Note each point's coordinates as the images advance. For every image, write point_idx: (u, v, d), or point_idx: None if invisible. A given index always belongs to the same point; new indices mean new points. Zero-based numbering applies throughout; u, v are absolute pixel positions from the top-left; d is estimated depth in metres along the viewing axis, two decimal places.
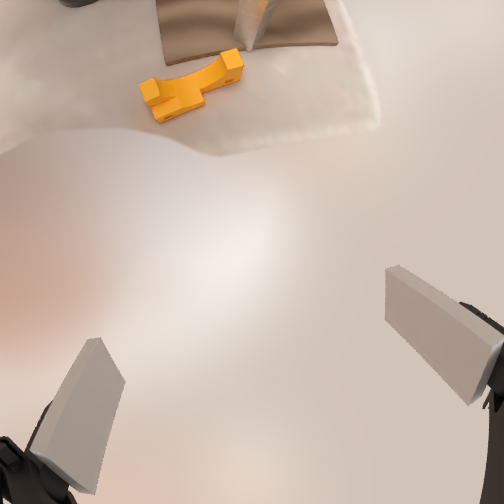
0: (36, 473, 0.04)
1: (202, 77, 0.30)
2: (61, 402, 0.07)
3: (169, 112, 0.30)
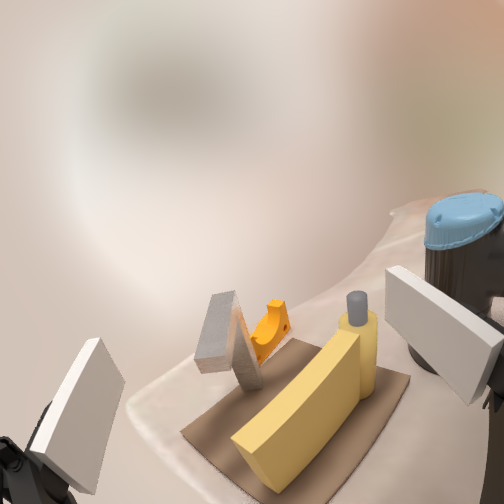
0: (36, 473, 0.04)
1: (261, 341, 0.46)
2: (61, 402, 0.07)
3: (263, 318, 0.52)
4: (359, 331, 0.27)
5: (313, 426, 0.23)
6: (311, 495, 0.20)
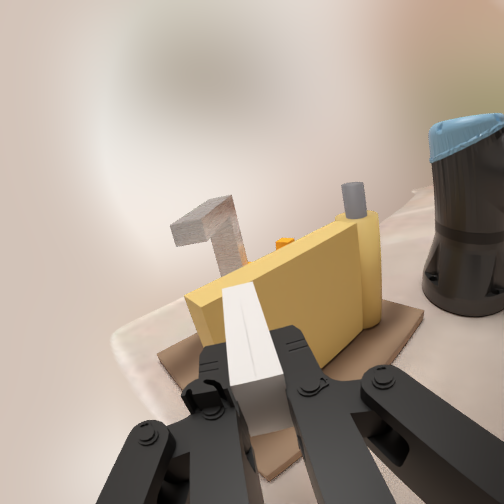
0: (239, 425, 0.06)
1: None
2: (239, 335, 0.09)
3: None
4: (357, 221, 0.24)
5: (297, 323, 0.21)
6: (289, 432, 0.18)
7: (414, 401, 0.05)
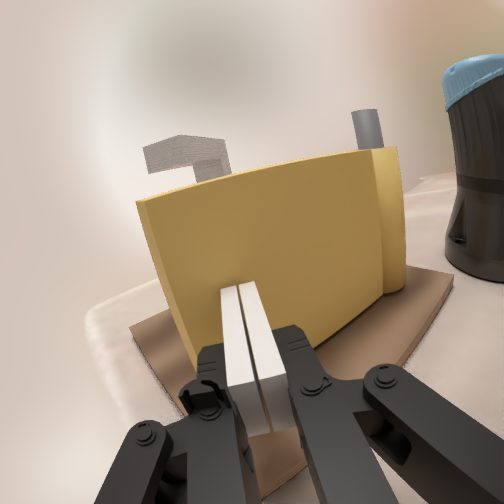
0: (236, 425, 0.06)
1: None
2: (237, 336, 0.09)
3: None
4: (371, 149, 0.19)
5: (293, 259, 0.16)
6: (292, 428, 0.12)
7: (416, 400, 0.05)
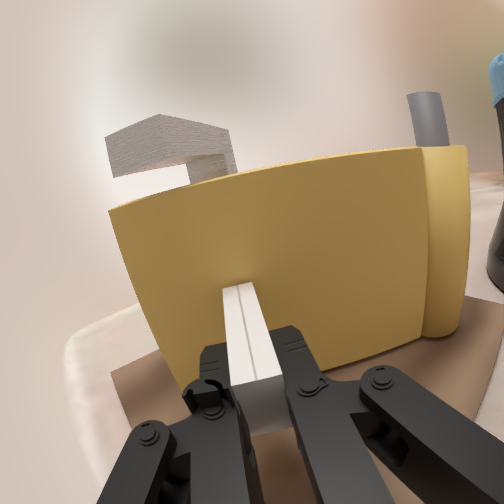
0: (239, 425, 0.06)
1: None
2: (240, 335, 0.09)
3: None
4: (424, 147, 0.12)
5: (272, 280, 0.13)
6: None
7: (413, 401, 0.05)
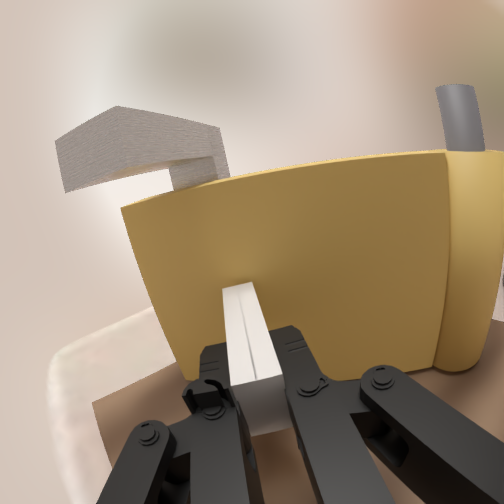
0: (239, 425, 0.06)
1: None
2: (240, 335, 0.09)
3: None
4: (450, 152, 0.09)
5: (265, 287, 0.13)
6: None
7: (413, 401, 0.05)
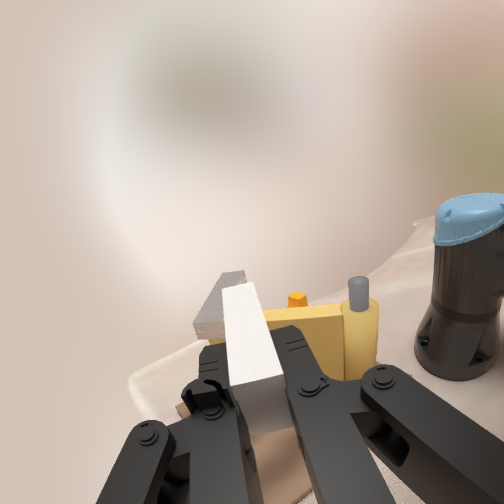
0: (239, 425, 0.06)
1: None
2: (239, 336, 0.09)
3: None
4: (346, 313, 0.28)
5: None
6: (292, 483, 0.21)
7: (414, 401, 0.05)
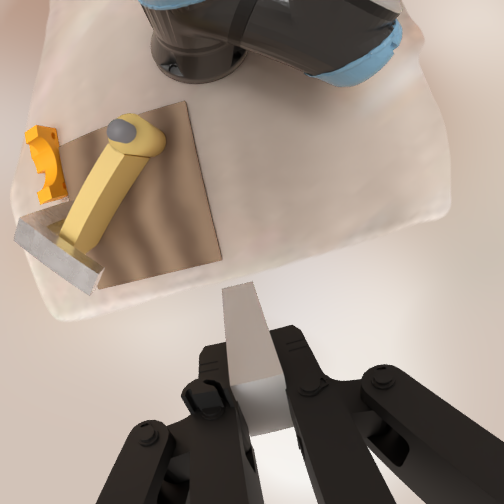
0: (238, 425, 0.06)
1: (51, 171, 0.34)
2: (239, 336, 0.09)
3: (30, 148, 0.32)
4: (125, 150, 0.25)
5: (100, 217, 0.32)
6: (203, 238, 0.42)
7: (414, 401, 0.05)
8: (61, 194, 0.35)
